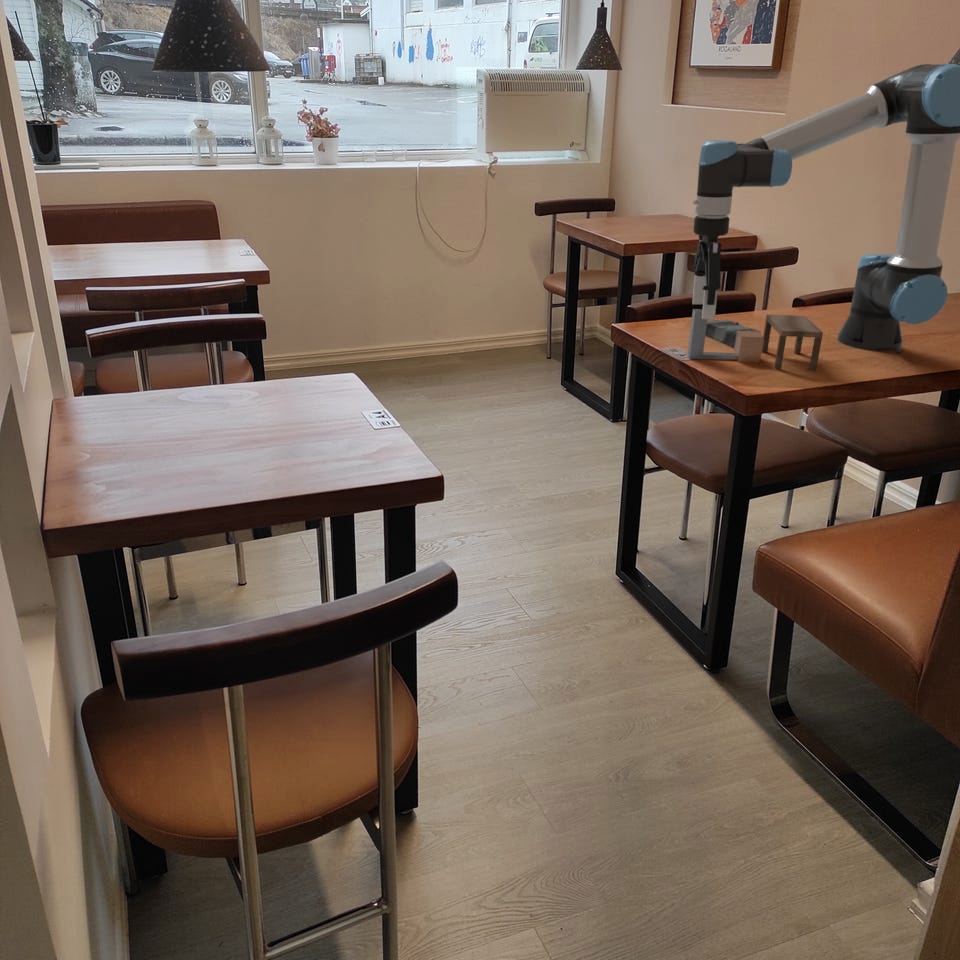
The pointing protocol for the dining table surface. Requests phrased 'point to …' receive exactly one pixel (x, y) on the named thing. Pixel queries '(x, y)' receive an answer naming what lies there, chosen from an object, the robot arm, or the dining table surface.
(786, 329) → the small grey table
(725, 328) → the stone block
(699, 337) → the grey l-shaped piece
